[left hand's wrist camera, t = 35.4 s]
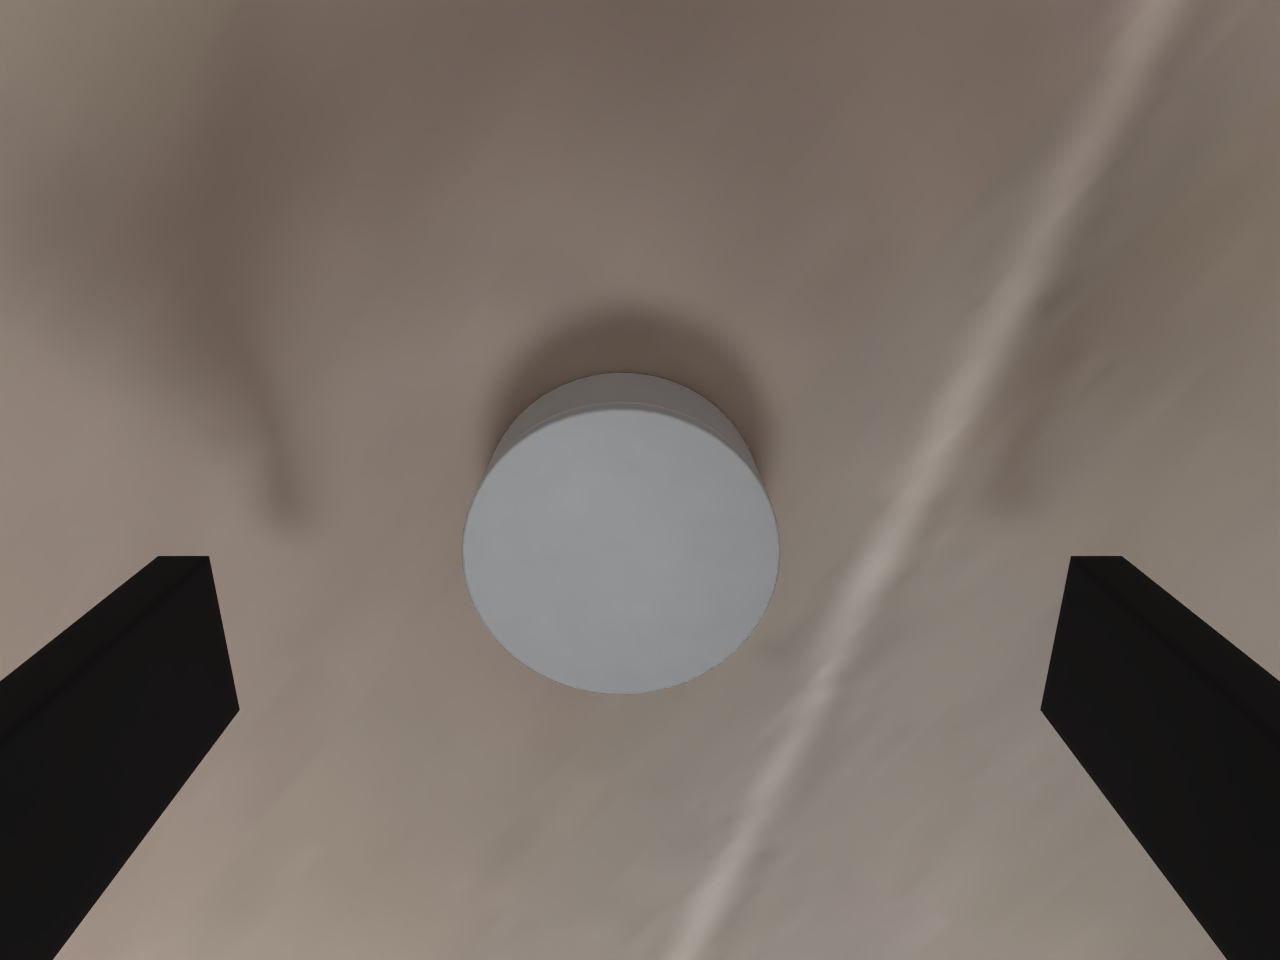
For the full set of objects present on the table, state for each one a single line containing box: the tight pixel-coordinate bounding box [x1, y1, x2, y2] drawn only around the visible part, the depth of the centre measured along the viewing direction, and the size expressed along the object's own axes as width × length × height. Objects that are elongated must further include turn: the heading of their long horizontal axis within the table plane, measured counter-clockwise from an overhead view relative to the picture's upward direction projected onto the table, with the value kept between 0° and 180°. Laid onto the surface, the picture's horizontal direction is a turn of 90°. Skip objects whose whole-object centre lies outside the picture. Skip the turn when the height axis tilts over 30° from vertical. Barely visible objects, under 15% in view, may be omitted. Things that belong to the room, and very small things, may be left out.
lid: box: [462, 373, 780, 694], centre depth 15 cm, size 5×5×2 cm
